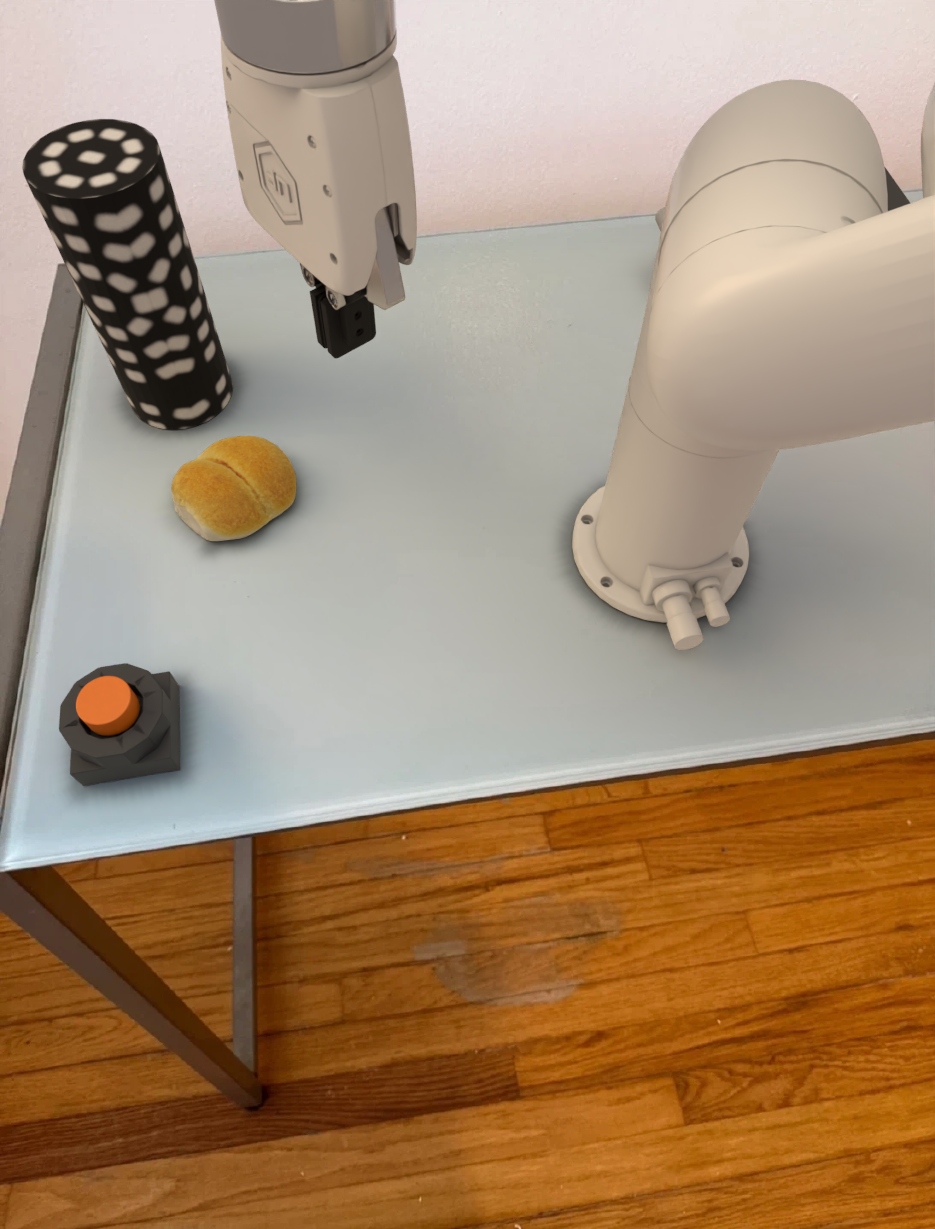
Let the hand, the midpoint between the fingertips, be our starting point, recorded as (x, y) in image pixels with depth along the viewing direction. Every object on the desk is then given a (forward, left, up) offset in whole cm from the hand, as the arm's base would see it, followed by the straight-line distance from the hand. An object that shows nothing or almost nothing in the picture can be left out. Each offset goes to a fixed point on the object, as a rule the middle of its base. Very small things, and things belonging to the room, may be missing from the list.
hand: (347, 341), depth 52 cm
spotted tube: (+14, +14, -15) cm, 25 cm away
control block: (-16, +17, -15) cm, 28 cm away
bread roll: (+2, +10, -15) cm, 18 cm away
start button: (-16, +17, -12) cm, 27 cm away
